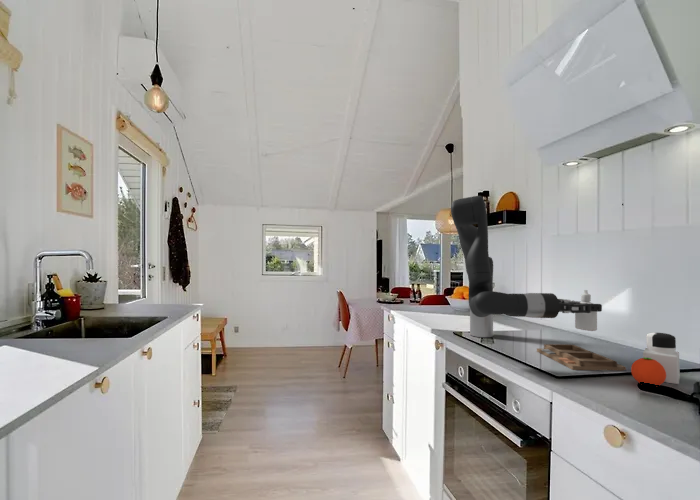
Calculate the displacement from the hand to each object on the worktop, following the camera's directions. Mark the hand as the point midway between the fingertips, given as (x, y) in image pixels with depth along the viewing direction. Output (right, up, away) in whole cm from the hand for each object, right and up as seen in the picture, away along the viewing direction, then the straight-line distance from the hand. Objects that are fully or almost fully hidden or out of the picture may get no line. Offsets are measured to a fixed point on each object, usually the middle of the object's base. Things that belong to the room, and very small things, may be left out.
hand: (594, 306), depth 113 cm
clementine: (+1, -17, -19) cm, 26 cm away
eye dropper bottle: (-3, -7, 0) cm, 8 cm away
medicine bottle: (+9, -18, -13) cm, 24 cm away
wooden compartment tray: (-2, -18, +5) cm, 19 cm away
